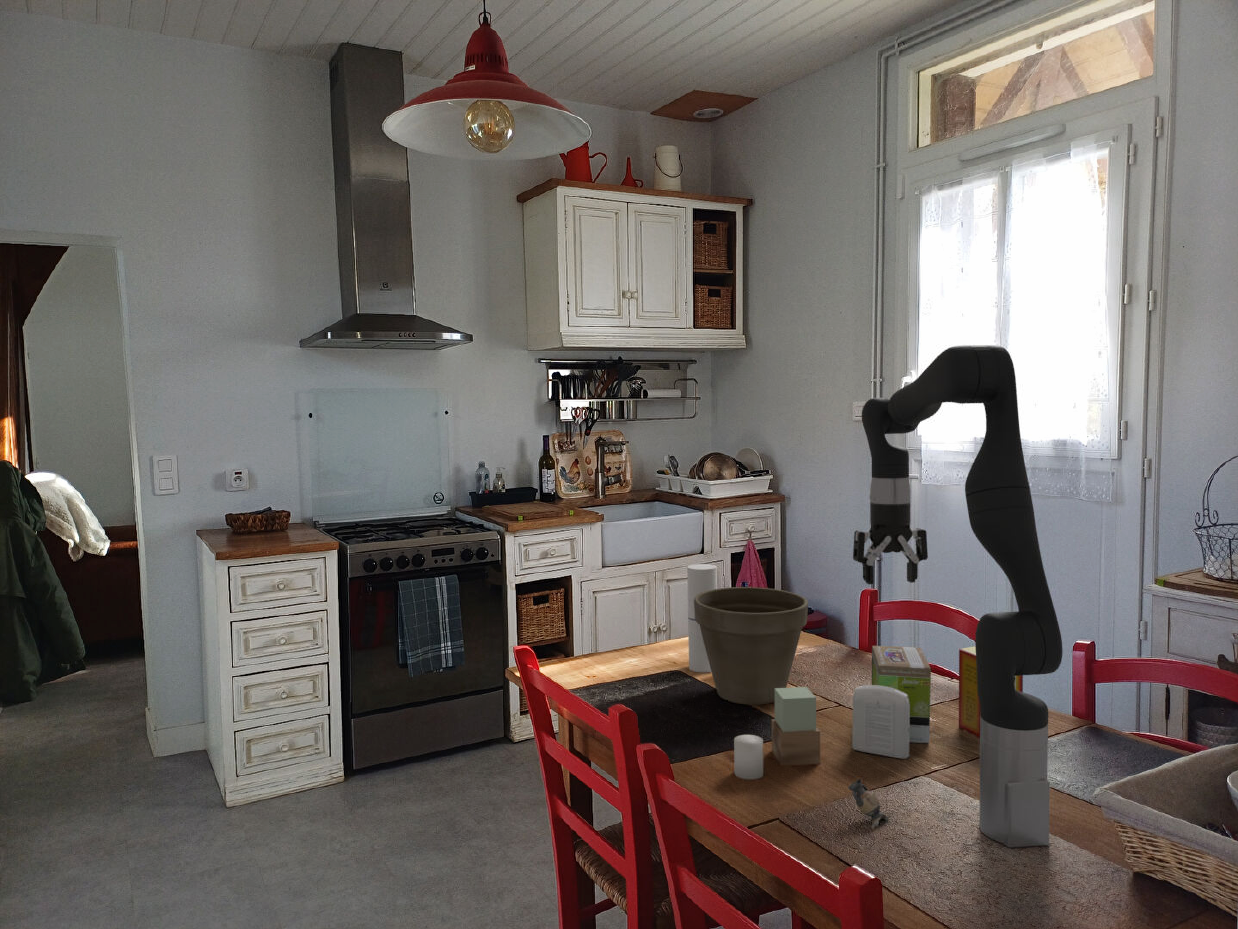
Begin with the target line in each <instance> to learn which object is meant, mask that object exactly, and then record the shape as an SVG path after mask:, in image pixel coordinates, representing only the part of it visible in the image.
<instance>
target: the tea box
mask: <svg viewBox="0 0 1238 929" xmlns="http://www.w3.org/2000/svg"><path fill="white" fill-rule="evenodd" d="M931 674H932V669H931V666H930V664H929V662H928V660H927V658H926V656H925V654H924V651H923V650H922V648H921V647H912V646H911V647H910V646H909V647H908V646H891V645H888V646H887V645H872V648H871V685H879V686H886V687H890V688H894V689H896V690H899V691H901V692H904V693H905V694H907V695H908V699H909V704H910V728H909V743H914V744H915V743H919V744H929V742H930V733H931V732H930V731H931V730H930V726H931V724H930V722H931V721H930V720H931V688H932V687H931V683H932V682H931V681H932V675H931Z"/></svg>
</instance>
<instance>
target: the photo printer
mask: <svg viewBox="0 0 1238 929" xmlns="http://www.w3.org/2000/svg"><path fill="white" fill-rule="evenodd" d="M909 728H910V704H909V699H908V695H907V694H905V693H904V692H901V691H899V690H896V689H894V688H890V687H886V686H879V685H872V684H868V685H867V684H866V685H859V686H856V688H854V692H853V696H852V737H851V738H852V743H851V744H852V747H851V748H852V749H853V750H855V751H859V752H862V753H869V754H874V755H879V756H880V755H881V756H885V757H890V758H896V759H902V760H903V759H905V760H906V759H907V758H909V756H910V742H909Z"/></svg>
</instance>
